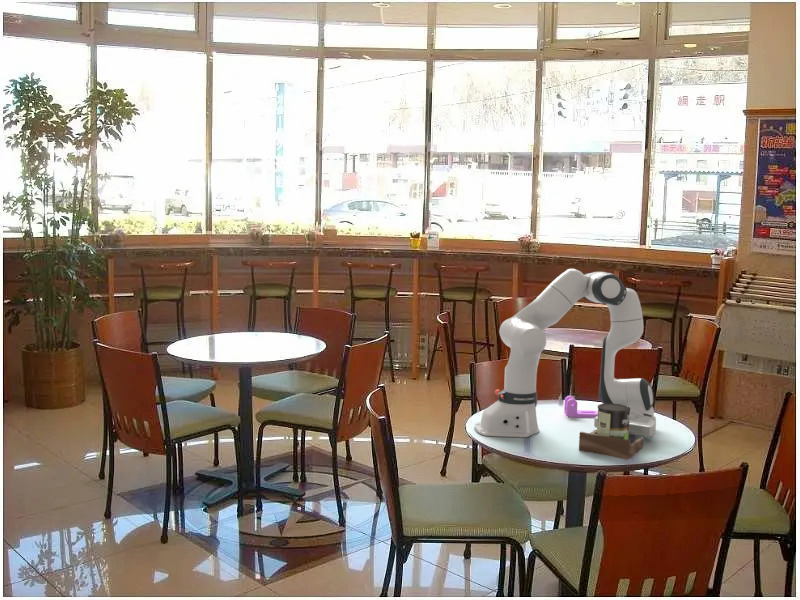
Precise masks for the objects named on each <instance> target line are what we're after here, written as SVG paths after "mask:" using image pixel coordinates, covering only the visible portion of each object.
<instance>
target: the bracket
mask: <svg viewBox="0 0 800 600" xmlns="http://www.w3.org/2000/svg"><path fill="white" fill-rule="evenodd" d="M563 407H564V409H563V413H565V414H566V415H565V414H564V415H565V416H566V417H567V416H572V417H571V418H592V417H596V416H598V410H589V409H585V410H583V409H578V401H577V400H576V398H575V397H574V396H573V395H567V396H565V398H564V406H563Z"/></svg>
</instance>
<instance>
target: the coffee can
mask: <svg viewBox="0 0 800 600" xmlns="http://www.w3.org/2000/svg"><path fill="white" fill-rule="evenodd" d="M597 409H598V410H597V411H598V422H597V428H596V430H597V435H603V436H609V437H614V438H620V439H625V440H629V436H630V435H629V416H630V407H628V406H625V405H621V404H613V403H606V404H603V403H601V404H598V405H597Z"/></svg>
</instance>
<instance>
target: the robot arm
mask: <svg viewBox="0 0 800 600" xmlns="http://www.w3.org/2000/svg"><path fill="white" fill-rule="evenodd" d="M581 299H583V300H585V301H588V302H592V303H593V302H594V303H596V304H604V305H606V306H607V308H608V311H609V314H610V315H609V316H610V319H609V320H610V329H609V332H608V334H606V335H605V336H604V338H603V340H602V347H601V360H600V377H599V385H598V399H599V401H600V402H601V404H606V403H613V404H621V405H625V406H628V407H630V416H629V435H628V436H634V435H637V436H642V437H647V438H653V437H654V436H655V434H656V428H657V426H656V425H657V419H656V418H657V417H656V416H655V409H654V407H653V405H654V402H655V395H654V389H653V387H652V385H651V384H650V383H649V381H647V380H646V379H645V378H643V377H641V378H639V377H636V378H635V377H634V378H615V364H616V363H615V360H616V355H617V353H618V351H620V350H622V349H624V348H626V347H629V346H631V345H632V344H635V343H636V342H637V341H638V340H639V339H641V337H642V336H643V335H644V334H643V333H644V316H643V310H642V306H641V301H640V298H639V295H638V293H637V291H636V290H635V289H633V288H630V287H629V288H628V287H626V286H625V285H624V284H623V281H622V280H621V279H620V277H618V276H617V274H614V273H611V272H606V271H591V272H587V273H583V272H582V271H580V270H578V269H575V268H568V269H566V270H565V271H563V272H562V273H561V274H559V275H557V277H556V278H555V279H554V280H552V281H551V282H550V283H549V284H548V285H547V286H546V287H545V288H544V289H543V291H542V292H541V293H539V295H537V297H536V298H535V299H533V301H532V302H530V303H528V305H526V306H525V307H523V308H522V309H520V310H519V311H518V312H517V313H516V314H514V315H513V316H512V317H509V318H507V319H505V320H504V321H502V323H501V324H500V327H499V331H498V333H499V336H500V339H501V341H502V342H503V343H504V345H506V346H507V347H508V348H510V353H509V359H508V361H507V364H506V366H505V367H504V381H503V382H504V384H503V386H504V388H503V389H502V390H500V389H495V391H494V394H495V395H496V396H497V399H498V400H496V401H495V402H494V403H492V404H491V405H490V406H488V407H487V408H485V409H484V410H483V412H482V415H481V419H480V422H476V423H475V424H474V430H475V432H477V433H478V434H479V435H481V436H485V437H509V438H529V437H530V436H532V435H535V434H538V433H539V432H540V428H539V424H538V419H537V408H536V407H537V405H538V392H537V374H538V366H539V362H540V358H541V353H542V352H543V351H544V349H545V348H546V345H547V337H546V334H545V333H544V331H545V330H546V329H548V328H549V327H552V326H553V325H555V324H558V322H559V321H561V319H562V318H563V317H564V316H566V314H567V313H568V312H569V311H570V309H571V308H572V307H573V306H574V305H575V304H576V303H577V302H578V301H579V300H581ZM597 422H598V416H596V417H595V418H594V421H593V426H594V428H596V429H597Z"/></svg>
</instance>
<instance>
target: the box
mask: <svg viewBox="0 0 800 600" xmlns="http://www.w3.org/2000/svg"><path fill="white" fill-rule="evenodd" d="M578 438H579V440H578V441H579V442H578V451H580V452H585V453H591V454H594V455H595V454H597V455H602V456H605V457H606V456H607V457H611V458H617V459H622V460H627V461H629V460H630V459H631V458H633V457H634V456H635V455H636V454H637V453H639V452H640V451H641V450H642V448H643V449H644V437H637V439H636V440H634V441H633V442H632V441H631V440H629V439H628V440H625V439H620V438H614V437H609V436H603V435H597V429H594V430H592V431H591V432H586V431H580V432H579V437H578ZM631 442H632V443H631Z"/></svg>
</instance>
